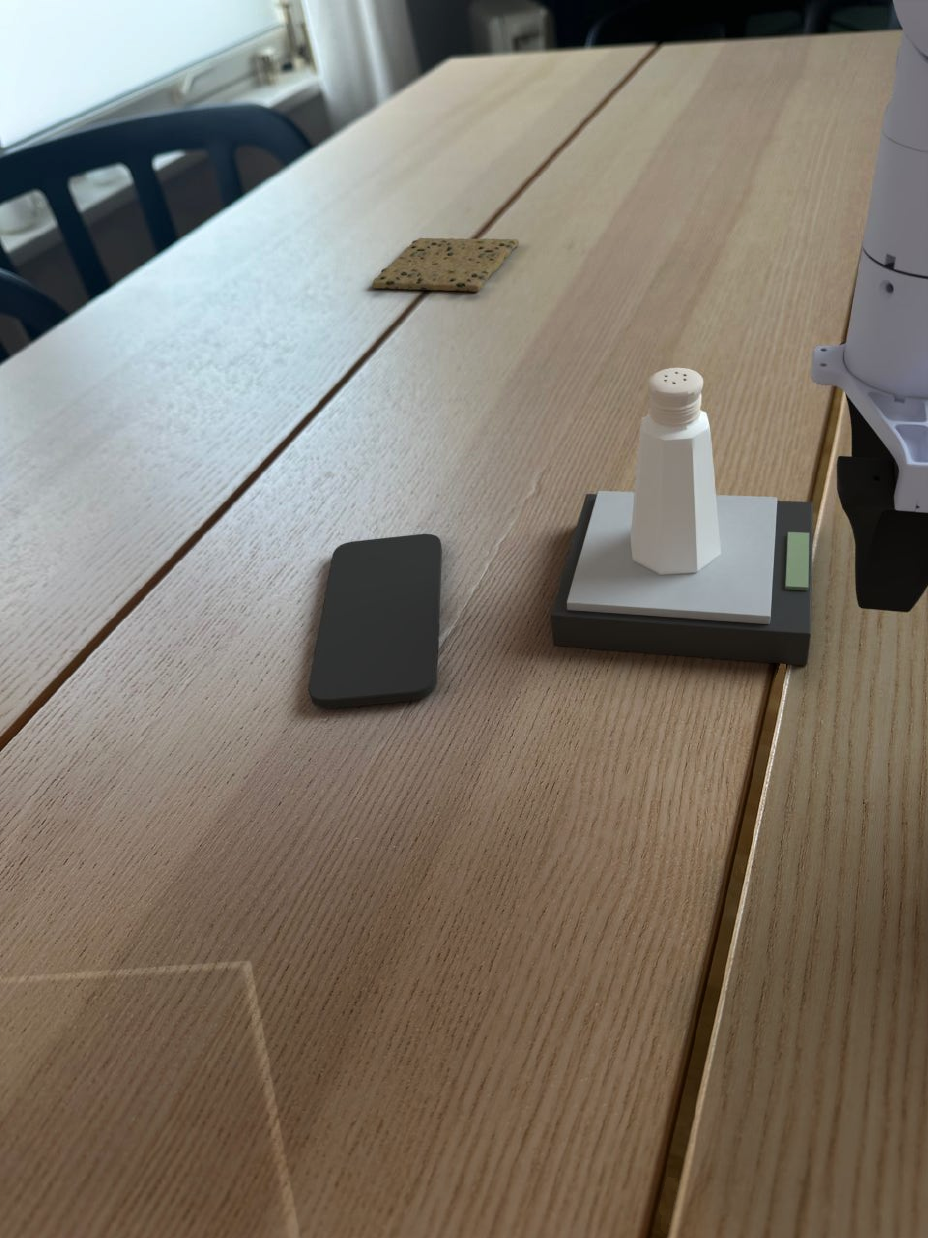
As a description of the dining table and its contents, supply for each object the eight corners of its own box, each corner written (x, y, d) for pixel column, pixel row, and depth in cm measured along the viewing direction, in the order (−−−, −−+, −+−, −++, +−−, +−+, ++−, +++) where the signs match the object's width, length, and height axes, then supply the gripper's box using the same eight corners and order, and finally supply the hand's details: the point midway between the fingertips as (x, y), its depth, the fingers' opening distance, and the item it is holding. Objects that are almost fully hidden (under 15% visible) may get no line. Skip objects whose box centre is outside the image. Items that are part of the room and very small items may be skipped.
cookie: (521, 242, 104) (520, 233, 103) (479, 292, 96) (478, 282, 95) (419, 241, 108) (417, 232, 107) (371, 288, 100) (369, 279, 99)
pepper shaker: (694, 510, 60) (697, 343, 53) (740, 559, 56) (750, 385, 49) (612, 536, 59) (604, 370, 52) (653, 588, 55) (651, 415, 48)
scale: (809, 532, 61) (814, 493, 60) (807, 666, 53) (812, 625, 51) (587, 522, 65) (585, 485, 63) (553, 645, 57) (549, 607, 55)
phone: (442, 531, 66) (435, 690, 54) (443, 541, 66) (437, 700, 55) (333, 542, 66) (304, 702, 55) (336, 552, 67) (308, 712, 55)
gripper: (828, 174, 41) (790, 452, 50) (829, 341, 31) (781, 651, 40) (1016, 171, 39) (941, 460, 48) (1083, 346, 29) (972, 670, 38)
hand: (880, 548), depth 44 cm, fingers open, 7 cm apart
